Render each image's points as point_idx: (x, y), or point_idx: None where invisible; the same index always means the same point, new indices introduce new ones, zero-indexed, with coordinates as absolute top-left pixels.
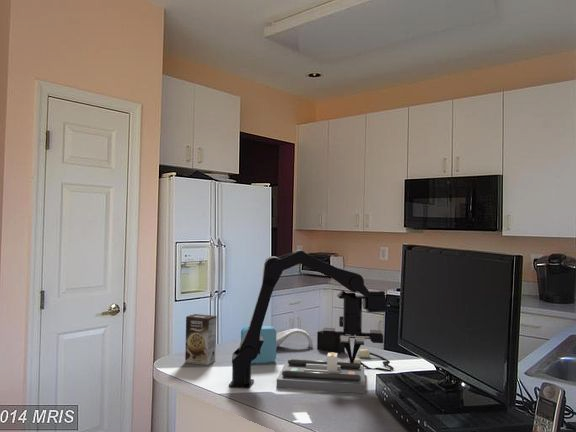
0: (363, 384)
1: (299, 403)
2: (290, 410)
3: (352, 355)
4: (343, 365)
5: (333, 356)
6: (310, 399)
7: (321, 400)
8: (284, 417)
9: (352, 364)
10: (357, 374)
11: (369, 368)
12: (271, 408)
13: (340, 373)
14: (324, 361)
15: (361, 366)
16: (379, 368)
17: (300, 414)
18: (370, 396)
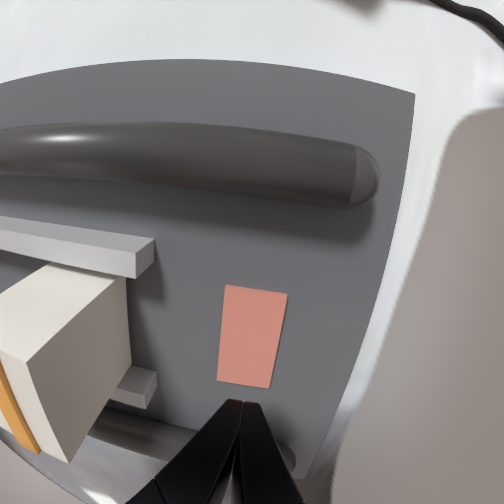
0: (297, 478)
1: (75, 463)
2: (74, 482)
3: (234, 490)
4: (173, 186)
5: (41, 449)
6: (91, 454)
7: (126, 467)
8: (79, 497)
9: (278, 196)
10: (301, 348)
11: (437, 1)
12: (35, 461)
13: (157, 323)
14: (4, 162)
15: (388, 103)
16: (500, 32)
17: (103, 500)
18: (320, 464)
